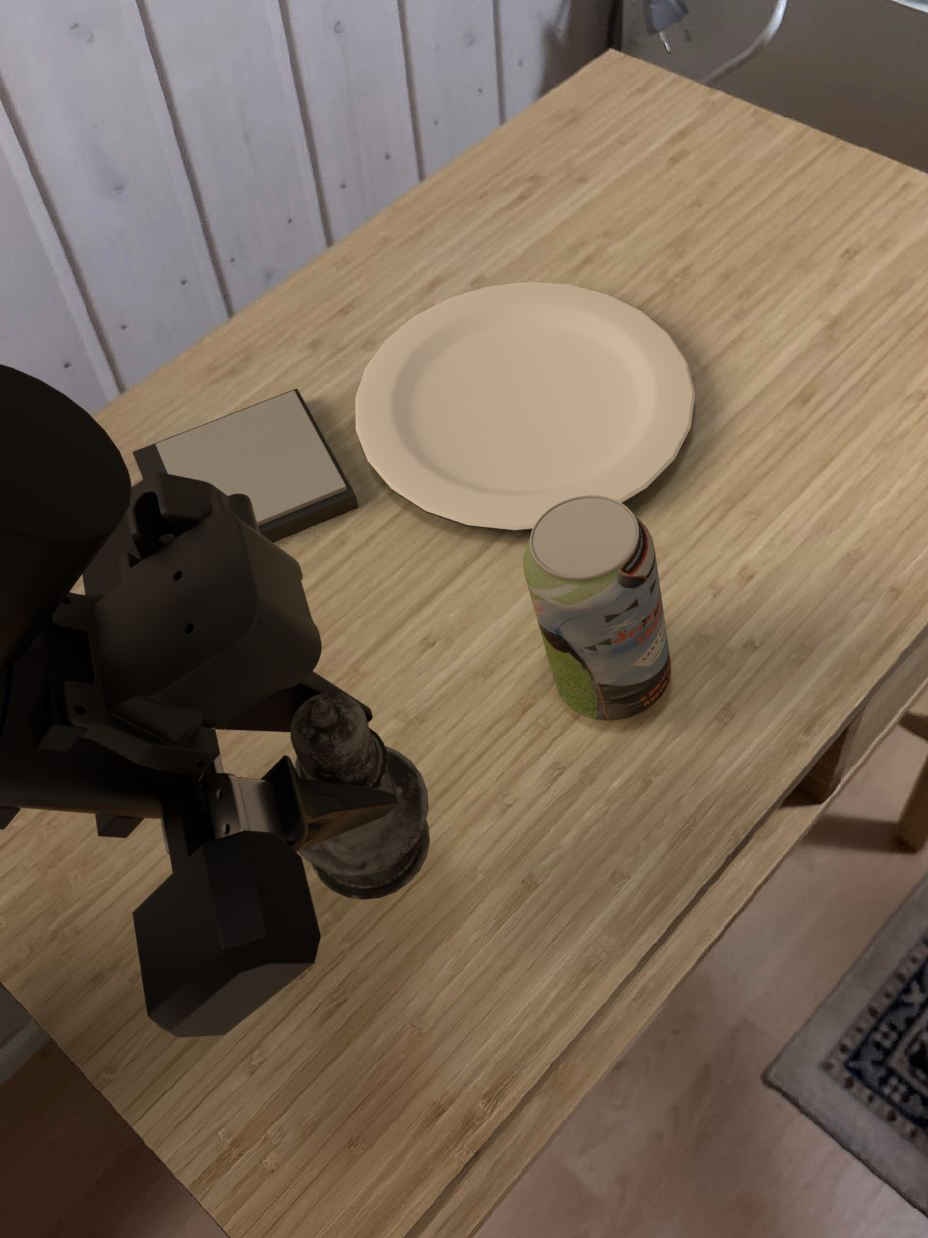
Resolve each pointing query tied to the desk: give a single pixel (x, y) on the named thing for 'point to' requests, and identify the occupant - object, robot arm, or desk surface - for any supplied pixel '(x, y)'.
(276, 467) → the scale
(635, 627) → the beverage can
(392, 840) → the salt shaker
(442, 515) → the plate
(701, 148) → the desk surface
